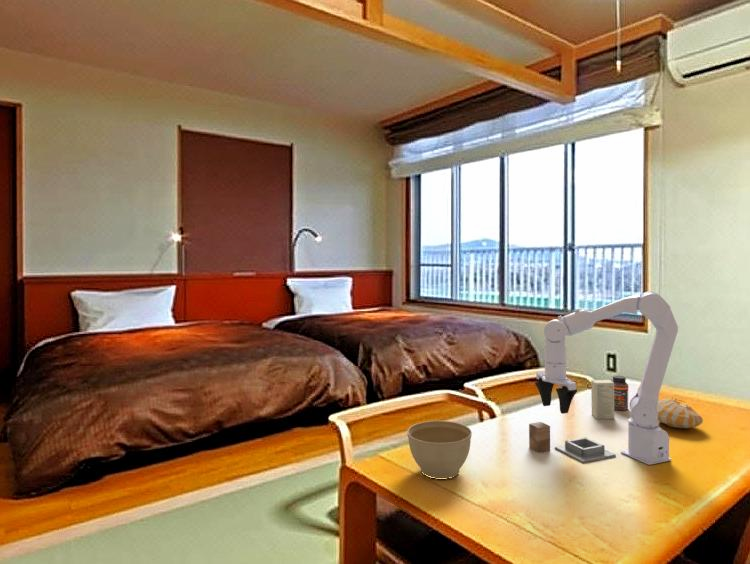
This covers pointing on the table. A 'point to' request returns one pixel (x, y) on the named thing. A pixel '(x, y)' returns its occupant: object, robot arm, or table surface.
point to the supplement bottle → (620, 393)
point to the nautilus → (677, 414)
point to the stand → (585, 450)
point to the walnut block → (539, 437)
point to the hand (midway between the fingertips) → (555, 409)
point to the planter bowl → (439, 447)
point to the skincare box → (602, 399)
